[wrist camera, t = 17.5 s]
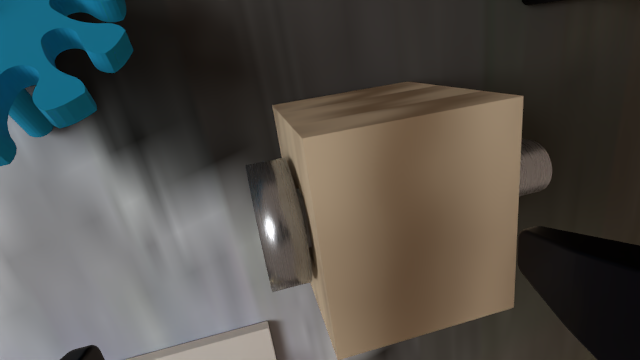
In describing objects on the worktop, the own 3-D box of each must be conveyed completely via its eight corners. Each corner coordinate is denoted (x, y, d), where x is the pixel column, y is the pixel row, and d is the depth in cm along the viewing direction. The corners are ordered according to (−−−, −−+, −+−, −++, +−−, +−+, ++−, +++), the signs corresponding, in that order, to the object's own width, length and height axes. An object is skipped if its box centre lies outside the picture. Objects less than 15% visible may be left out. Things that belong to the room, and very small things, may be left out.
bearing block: (407, 81, 19) (523, 95, 11) (416, 221, 21) (513, 307, 14) (271, 105, 18) (301, 138, 10) (298, 250, 20) (337, 360, 13)
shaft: (494, 103, 18) (586, 118, 13) (492, 197, 20) (573, 239, 15) (243, 152, 16) (249, 189, 11) (265, 251, 18) (278, 320, 13)
